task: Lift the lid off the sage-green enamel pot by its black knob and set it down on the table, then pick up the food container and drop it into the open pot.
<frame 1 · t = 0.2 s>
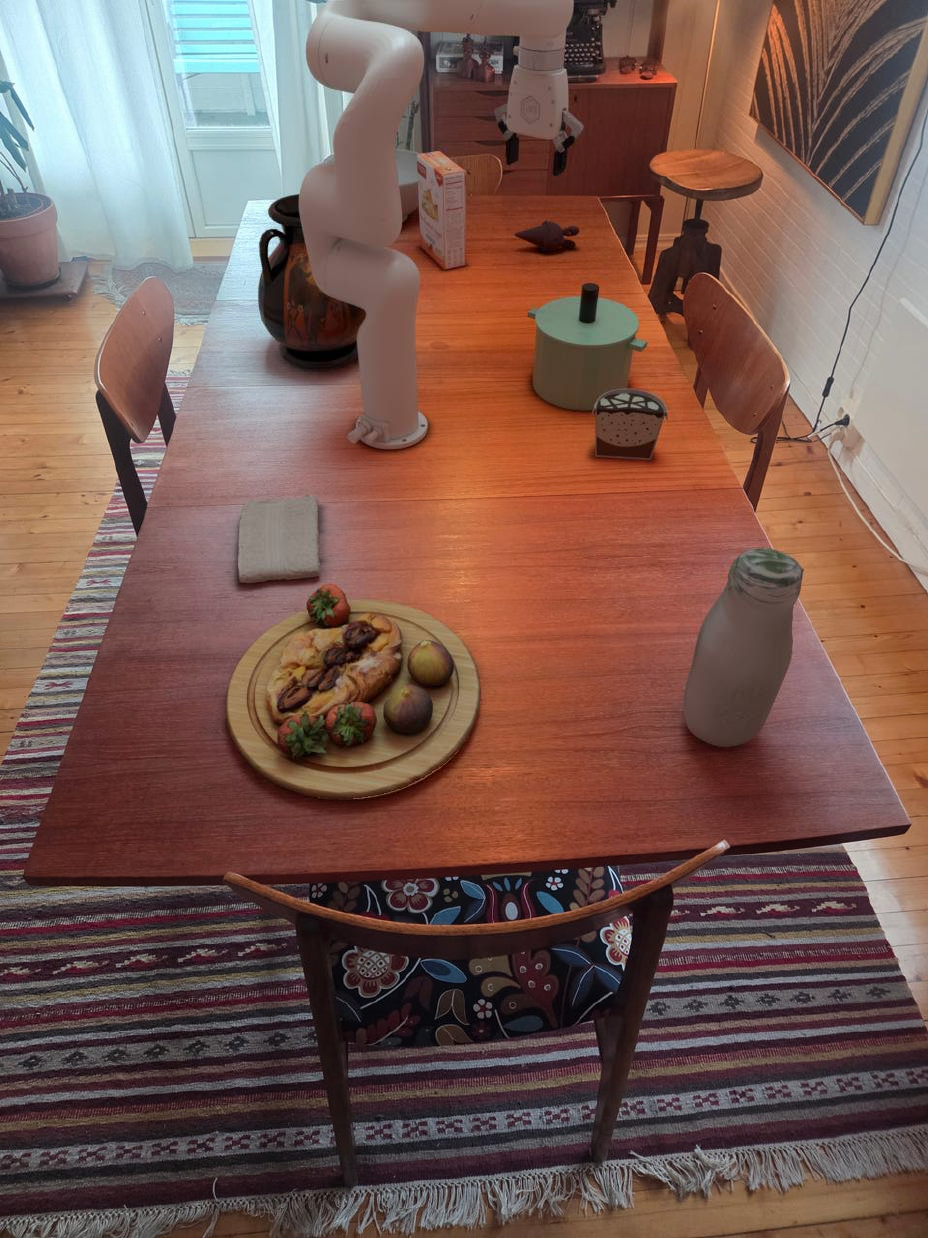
hand: (535, 168, 158), 31 cm above the table, tool pointing down, fingers open, 9 cm apart
icecream: (545, 251, 208), on the table
cracker box: (442, 257, 205), on the table
decorative bowl: (382, 217, 222), on the table
washcloth: (281, 545, 133), on the table
lid: (586, 322, 157), point 12 cm above the table, touching pot
food container: (622, 448, 151), on the table
glass bottle: (715, 730, 109), on the table
pot: (579, 385, 165), on the table
amphora vase: (322, 353, 174), on the table
wooden plate: (355, 698, 112), on the table
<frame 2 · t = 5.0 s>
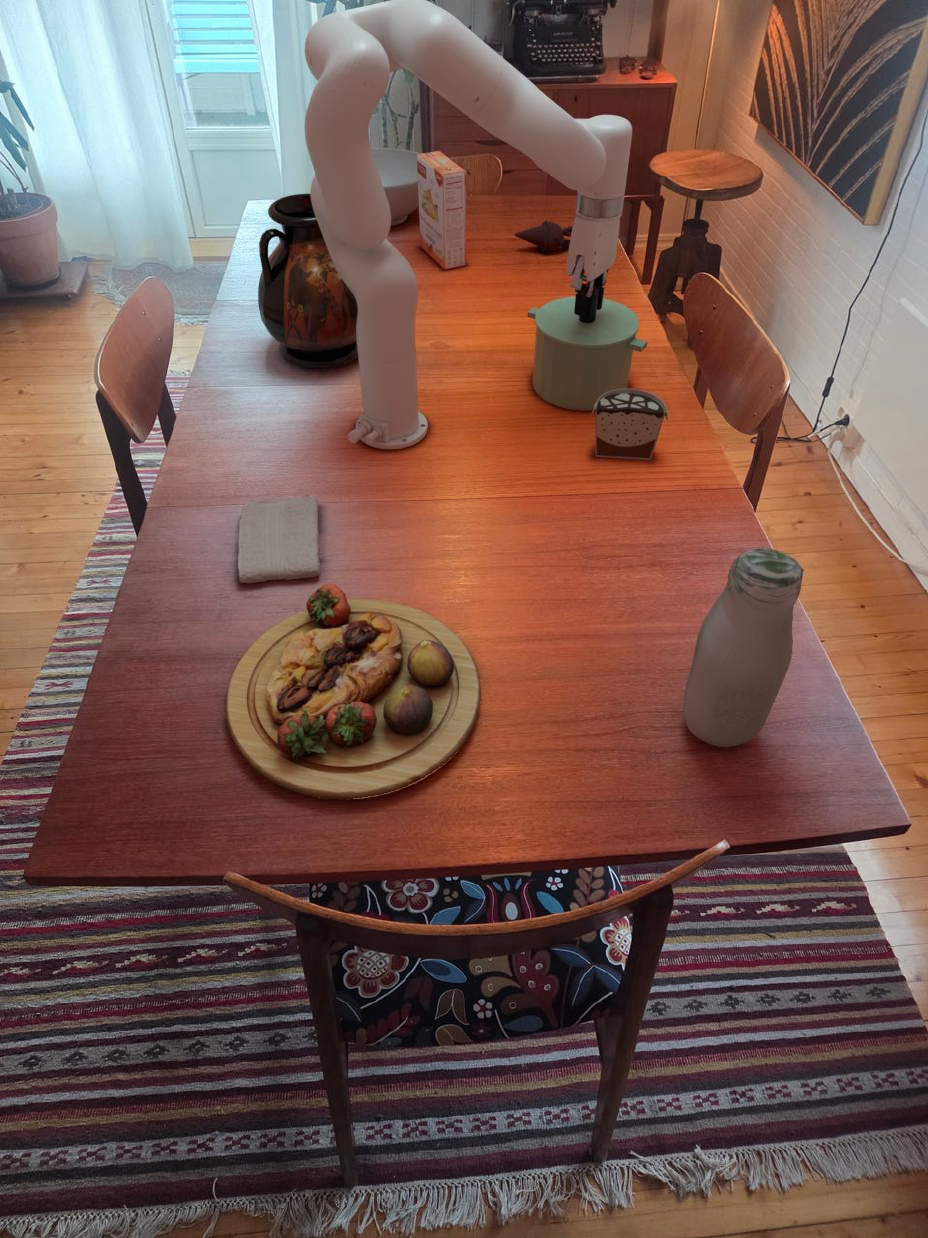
hand: (587, 310, 155), 15 cm above the table, tool pointing down, fingers closed on lid, 3 cm apart
lid: (586, 322, 157), point 13 cm above the table, touching gripper, pot
everything else where it was.
when the fingers open (3 cm above the table, at t = 15.8 s): lid stays where it is, point 1 cm above the table.
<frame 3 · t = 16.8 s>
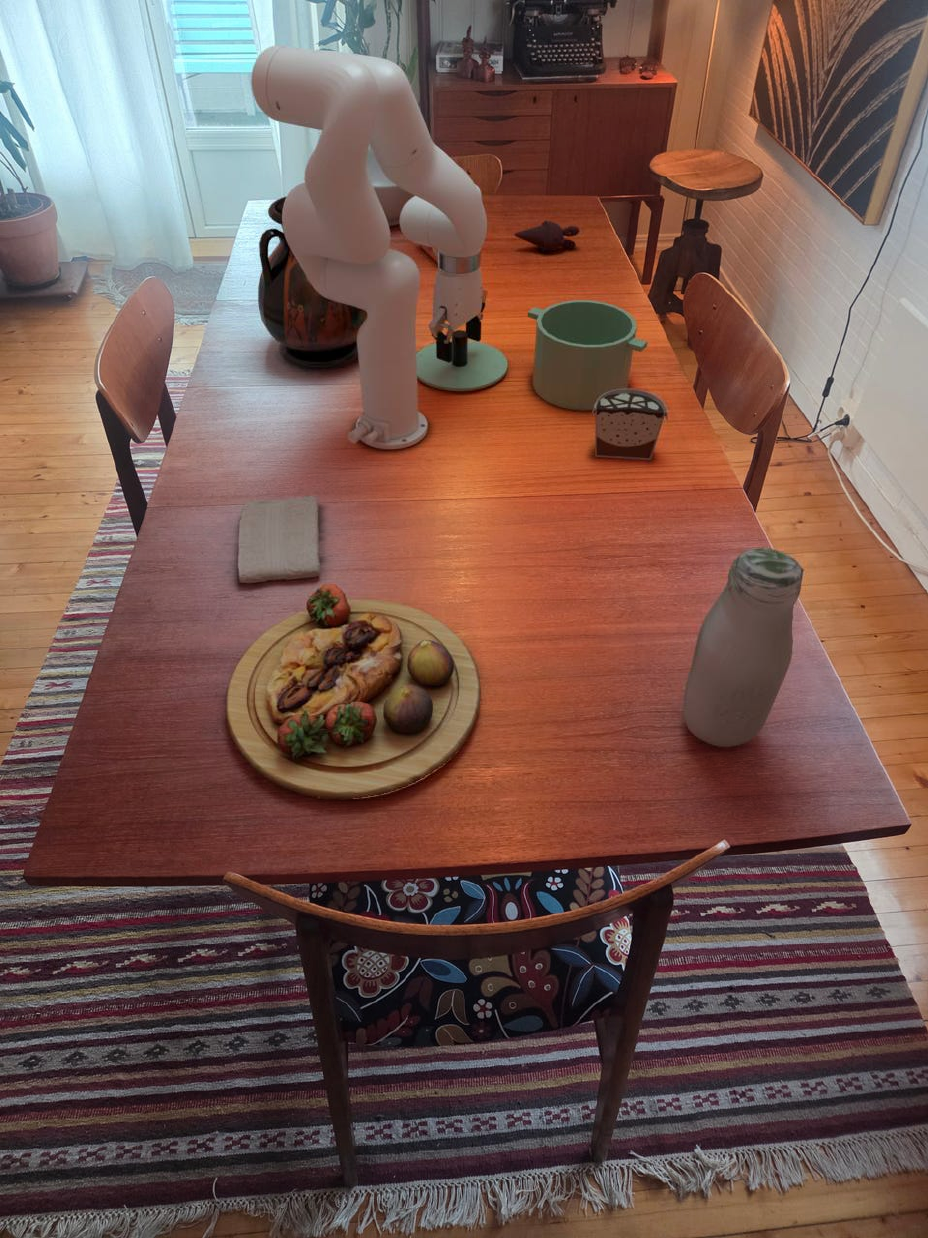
hand: (459, 349, 166), 4 cm above the table, tool pointing down, fingers open, 9 cm apart
lid: (459, 365, 169), point 1 cm above the table
everything else where it was.
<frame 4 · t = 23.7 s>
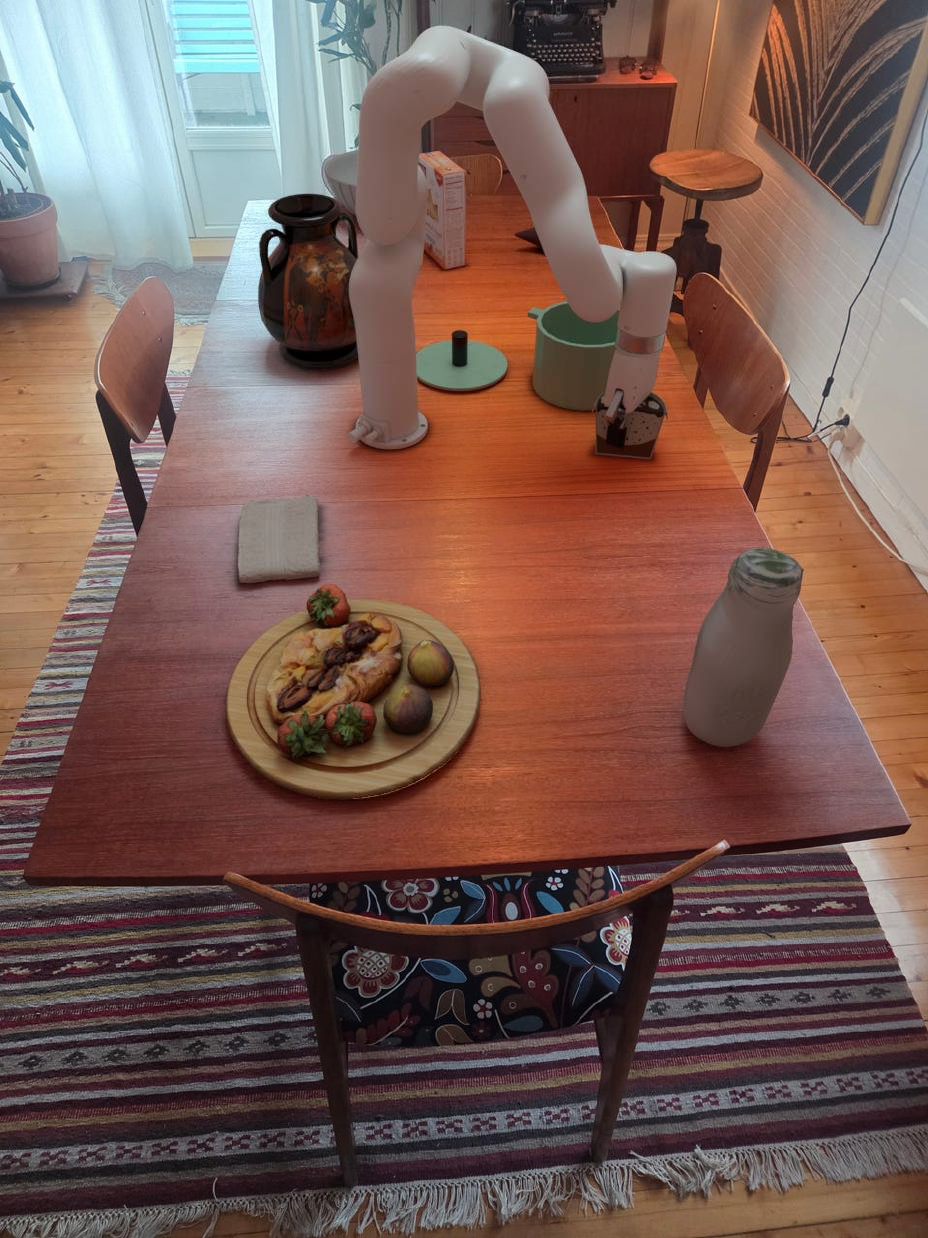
hand: (625, 434, 149), 3 cm above the table, tool pointing down, fingers closed on food container, 6 cm apart
food container: (623, 447, 152), on the table, touching gripper
everything else where it was.
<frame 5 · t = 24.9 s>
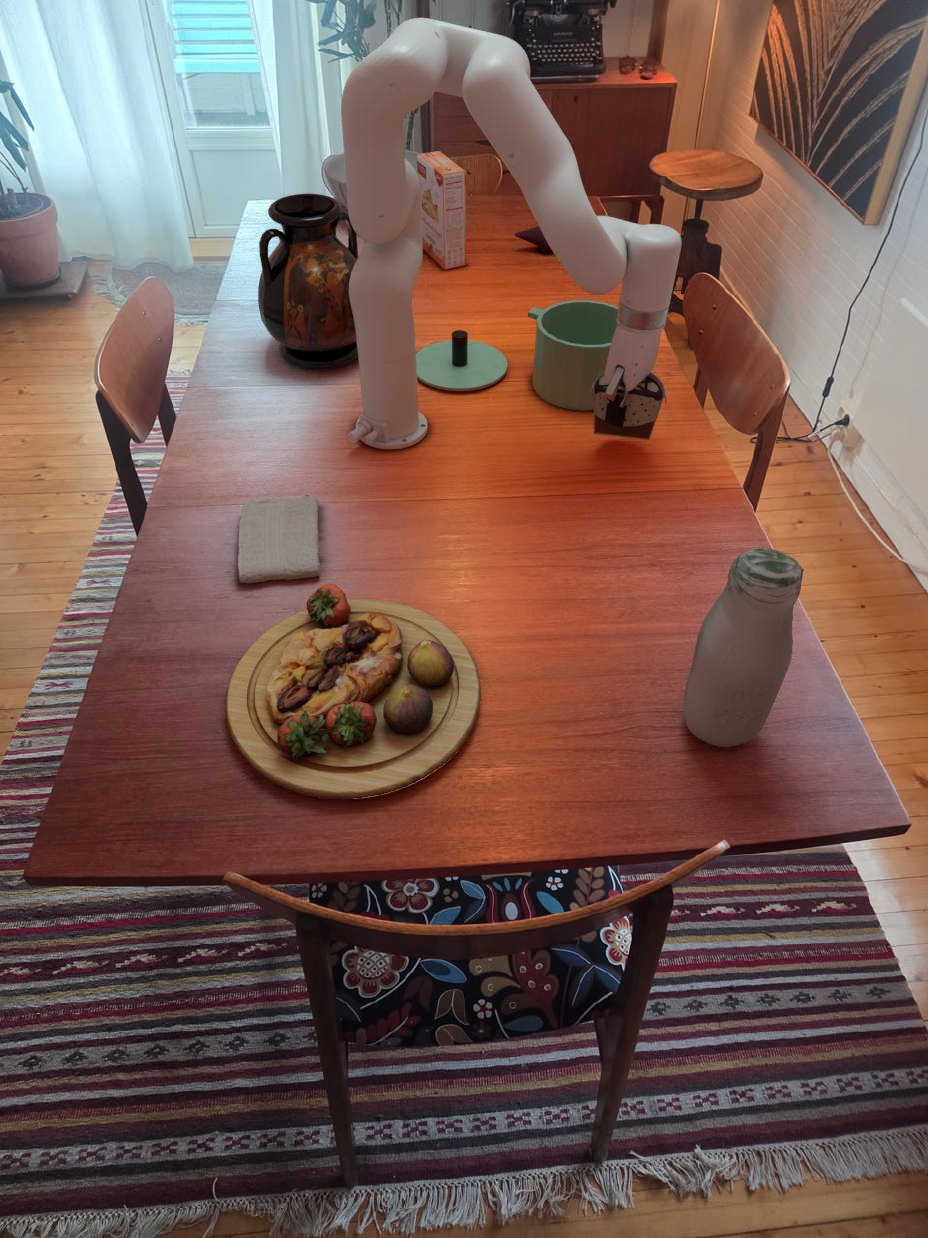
hand: (623, 413, 146), 7 cm above the table, tool pointing down, fingers closed on food container, 6 cm apart
food container: (623, 426, 150), point 3 cm above the table, touching gripper
everything else where it was.
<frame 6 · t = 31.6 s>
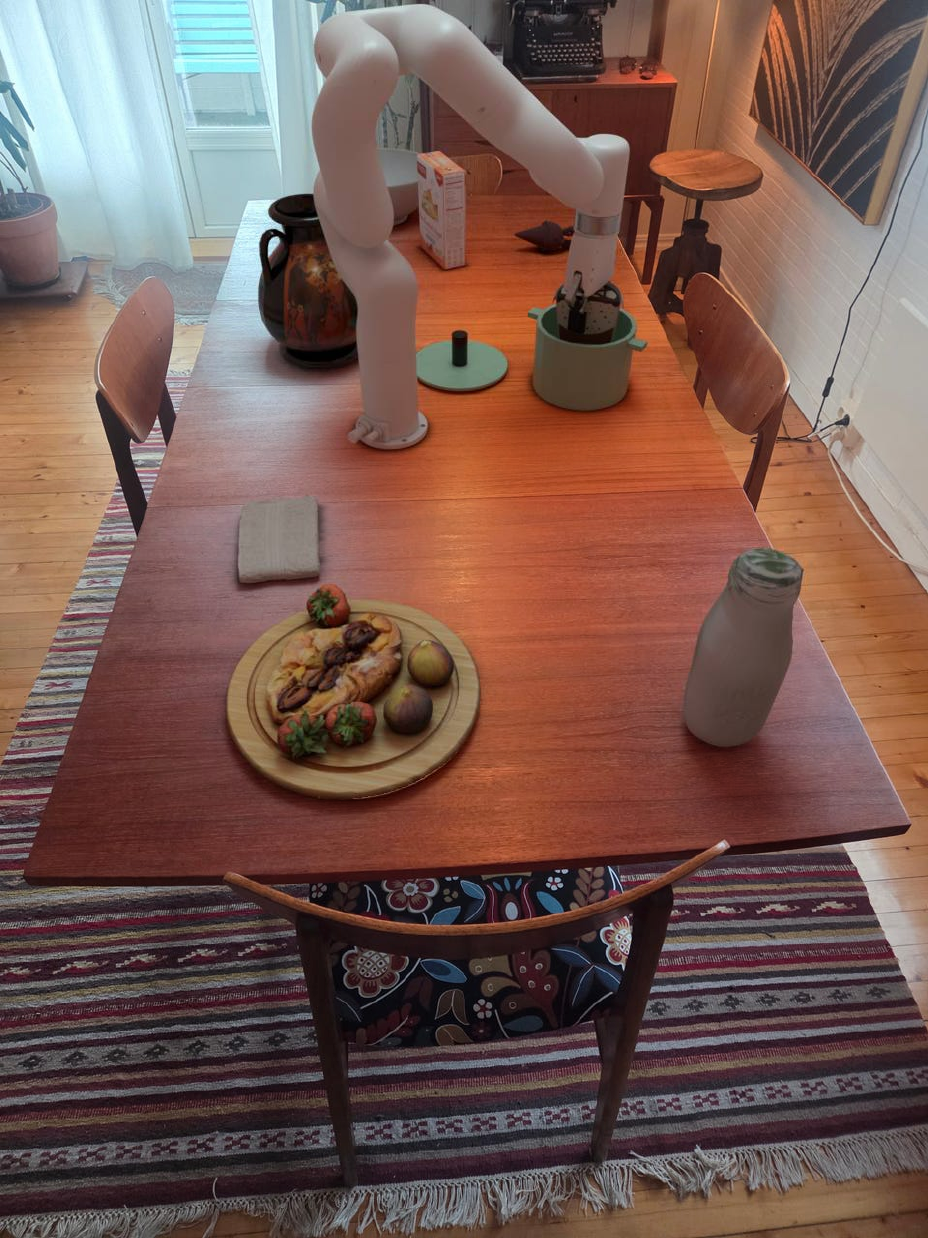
hand: (585, 322, 157), 12 cm above the table, tool pointing down, fingers closed on food container, 6 cm apart
food container: (586, 336, 160), point 9 cm above the table, touching gripper
everything else where it was.
when the fingers open (12 cm above the table, at t = 31.9 s): food container drops 9 cm, resting on pot.
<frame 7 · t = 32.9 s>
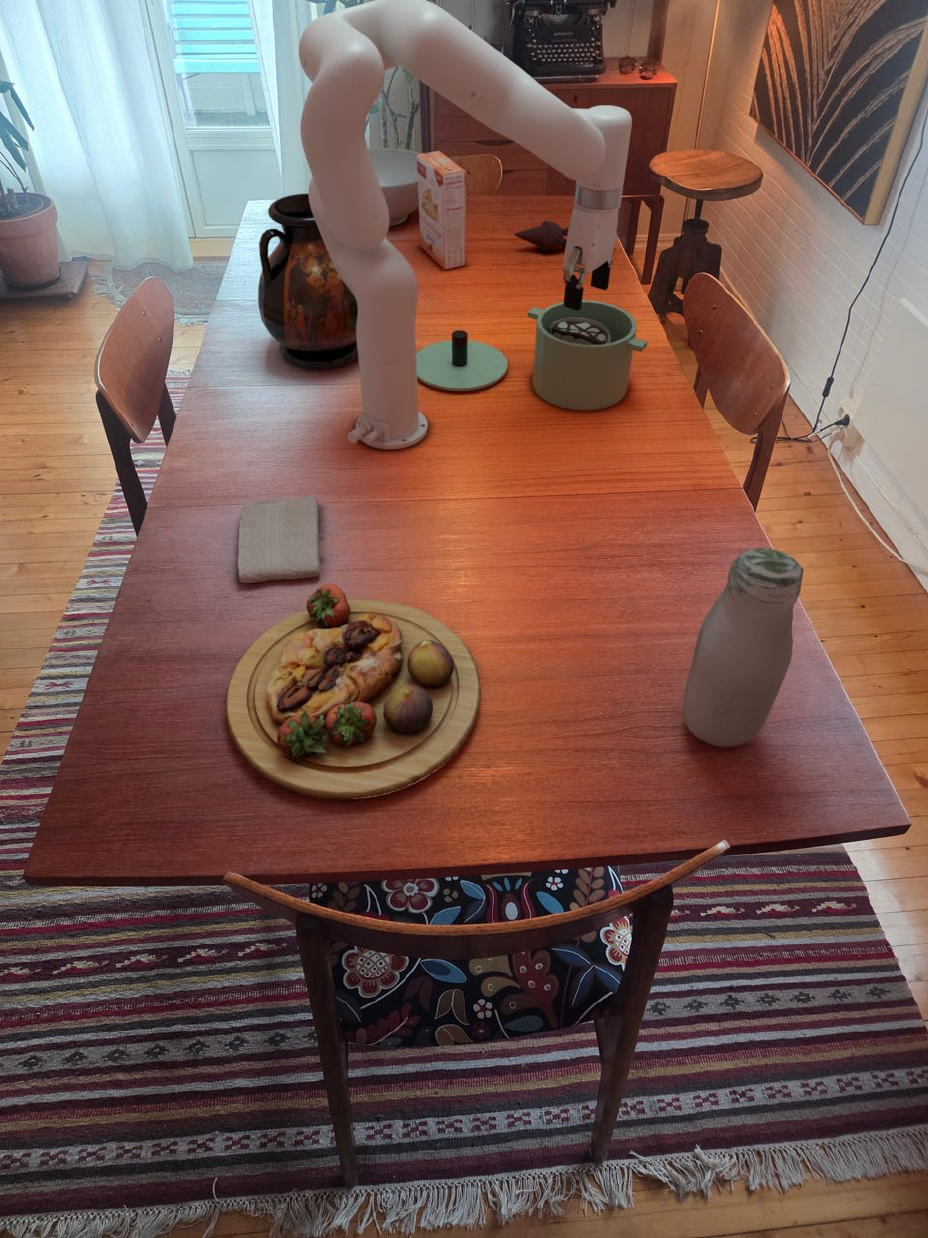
hand: (585, 297, 153), 17 cm above the table, tool pointing down, fingers open, 9 cm apart
food container: (580, 375, 167), resting on pot
everything else where it was.
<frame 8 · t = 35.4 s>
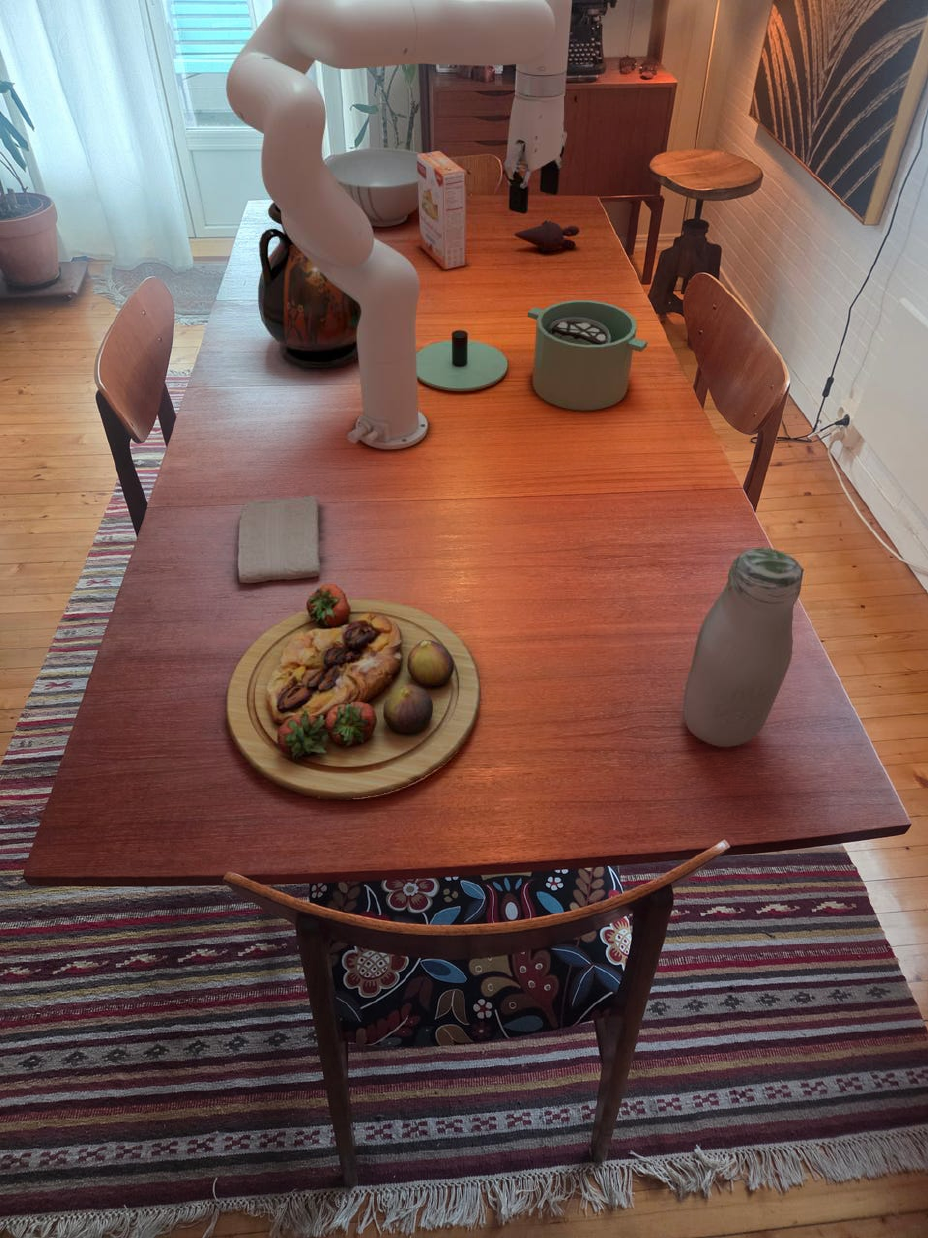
hand: (533, 201, 144), 32 cm above the table, tool pointing down, fingers open, 9 cm apart
nothing on the table moved.
at the end: lid point 0.6 cm above the table; food container inside the target area in the pot (2.9 cm from its centre), point 0.3 cm above the pot's base; the gripper is holding nothing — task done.
